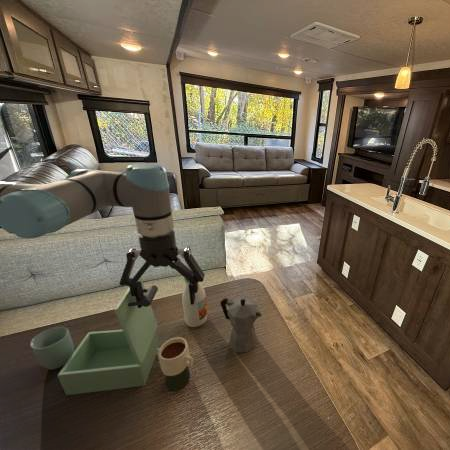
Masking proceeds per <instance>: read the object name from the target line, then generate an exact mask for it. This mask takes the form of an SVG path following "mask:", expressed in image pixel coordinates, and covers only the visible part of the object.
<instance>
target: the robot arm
mask: <svg viewBox="0 0 450 450" xmlns="http://www.w3.org/2000/svg"><path fill="white" fill-rule="evenodd" d="M167 174H168V173H167V170H166V169H165V167H164V166H162V165H160V164H156V163H134V164H130V165H128V166H126V168H125V172H120V171H111V170H110V171H109V170H101V169H96V168H89V169H82V168H81V169H80V168H79V169H78V168H77V169H75V170H72V171H70V173H69V174H68V175H67V176H65V178H64V179H60V180H57V181H56V180H55V181H53V182H49V183H42V184H41V183H40V184H35V183H34V184H33V183H21V182H20V183H19V182H8V181H0V228H1V229H2V230H4V231H5V232H6V233H8V234H13V235H15V236H16V237H18V238H21V239H37V238H40V237H43V236H46V235H48V234H53V233H56V232H59V231H60V230H62V229H63V228H65V227H67V226H69V225H71V224H73V223H76V222H77V221H79V220H81V219H84V218H86V217H88V216H90V215H92V214H95V213H97V212H99V211H101V210H104V209H105V208H107V207H121V208H122V207H123V208H132V212H133V217H134V220H135V227H136V231H137V234H138V236H137V237H138V242H139V247H140V249H136V248H135V247H131V248H130V249H129V250H128V251H127V253H126V263H125V266H124V268H123V272H122V275H121V276H120V279H119V284H118V285H119V286H121V287H124V286H127V287H128V288H129V287H130V291H131V295H132V296H135V297H136V301H137V302H138V301H142V300H143V298H144V293H143V289H142V284H141V281H138V280H139V279H140V277H141V278H142V277H143V275H144V274H145V272H146V271H147V270H148V269H149V268H150V267H151V266H152V267H153V268H158V267H164V268H165V267H170V268H171V269H172V270H175V271H176V272H177V273H178V274H180V275H181V277H183V278H184V279H185V278H186V279H187V280H188V281H189V294H190V302H191V305H194V302H195V293H197V291H198V282H200V283H202V282H204V279H205V273H204V271H203V269H202V268H201V266H200V265H199V263H198V261H196V259H195V257H194V256H193V254H192V249H191V247H190V246H186V247H185V248H178V247H177V242H176V232H175V230H174V228H175V224H174V217H173V212H172V211H173V210H172V204H171V195H170V194H171V193H170V183H169V180H168V175H167ZM179 256H181V258H182V259H184V261H185V263H186V264H184V263H183V262H182V261H181V259H180V257H179ZM139 257H141V258H142V259H143V260H144V261H145V262H144V263H143V264H142V266H141V267H140V268H139V269H138V270H137V272H136V273H135V275H133V277H132V278H131V275H132V271H133V269H134V266H135V263H136V261H137V259H138V258H139ZM137 281H138V282H137ZM137 306H138V308H141V307H142V305H137Z"/></svg>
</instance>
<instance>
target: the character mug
mask: <svg viewBox="0 0 450 450" xmlns="http://www.w3.org/2000/svg"><path fill="white" fill-rule="evenodd" d="M156 353H157V354H156V357H157V358H158V361H159V367H160V370H161V372H162V374H163V375H165V386H166V387H167V389H168V390H171V391H176V390H180V389H181V388H182V387H184V386H185V385H186V384H188V382H189V380H190V378H191V373H190V369H189V367H191V368H192V367H193V366H194V359H193V357H192V356H191V355H190V349H189V343H188V342H187V340H186V339H185V338H183V337H173V338H170V339H168V340H166V341H165V342H164V343H162V344H160V346H159V348H157V349H156Z"/></svg>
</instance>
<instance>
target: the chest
mask: <svg viewBox="0 0 450 450" xmlns="http://www.w3.org/2000/svg"><path fill="white" fill-rule="evenodd" d="M160 347H161V341H160V336H159V331H158V328H157V329H156V331H155V334H154V336H153V339H152V341H151V343H150V346H149V348H148V351H147V353H146V355H145V358H144V360H143V363H142V365H139V366H138V364H137V361H136V359H135V357H134V355H133V352H132V350H131V348H130V345H129V343H128V341H127V339H126V336H125V334H124V332H123V329H113V330H101V331H89V332H87V333H86V335H85V336H84V338H83V339H82V340H81V342H80V343H79V344H78V346H77V347H76V349H74V350H75V352H74V353H73V354H72V356H71V357H70V359H69V360H68V361H67V363H66V364H65V365H64V366H62V367H61V370H60V371H59V372H58V374H57V379H58V380H59V382H60V385H61V387H62V389H63V391H64V394H65V396H72V395H79V394H80V395H81V394H88V393H96V392H105V391H112V390H120V389H127V388H128V389H129V388H135V387H145V386H146V384H147V382H148V379H149V376H150V372H151V370H152V368H153V365H154V362H155V359H156V357H157V353H156V349H157V348H160Z"/></svg>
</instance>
